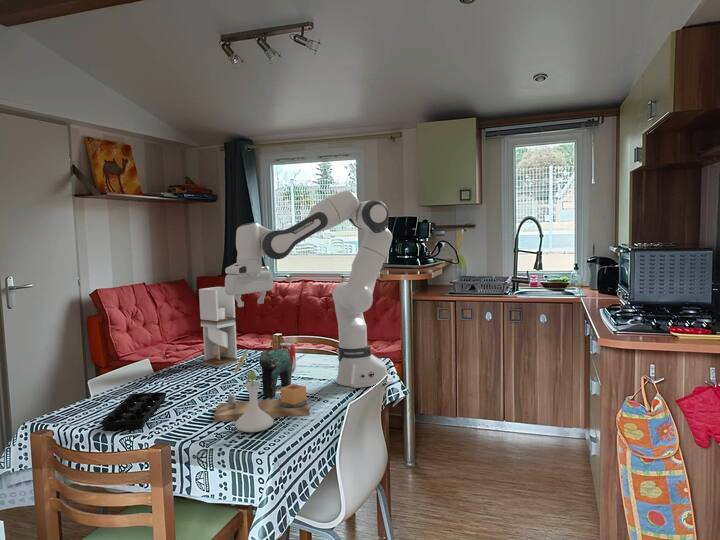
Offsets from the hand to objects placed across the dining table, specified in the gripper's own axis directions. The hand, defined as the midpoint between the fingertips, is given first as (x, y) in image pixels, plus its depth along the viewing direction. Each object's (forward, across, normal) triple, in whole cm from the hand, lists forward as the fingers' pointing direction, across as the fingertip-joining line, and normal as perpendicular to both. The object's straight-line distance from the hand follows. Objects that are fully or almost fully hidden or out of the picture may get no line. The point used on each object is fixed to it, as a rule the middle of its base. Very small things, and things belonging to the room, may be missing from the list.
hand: (251, 305), depth 187 cm
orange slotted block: (+30, +4, +24) cm, 39 cm away
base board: (+33, +11, +17) cm, 39 cm away
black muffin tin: (+34, +36, -17) cm, 52 cm away
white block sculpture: (+33, -23, -50) cm, 64 cm away
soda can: (+33, -30, -13) cm, 46 cm away
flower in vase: (+33, +24, +26) cm, 49 cm away
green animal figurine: (+33, -7, +4) cm, 34 cm away
